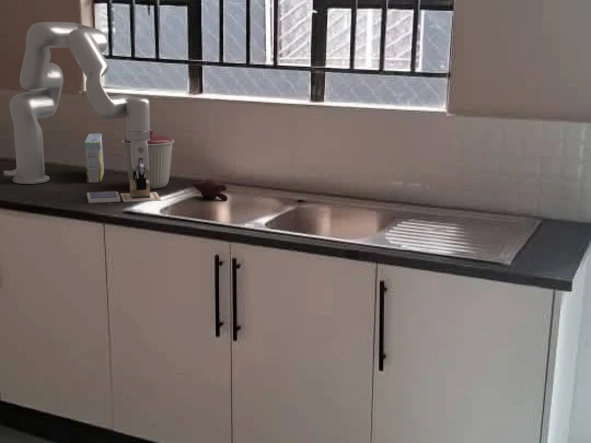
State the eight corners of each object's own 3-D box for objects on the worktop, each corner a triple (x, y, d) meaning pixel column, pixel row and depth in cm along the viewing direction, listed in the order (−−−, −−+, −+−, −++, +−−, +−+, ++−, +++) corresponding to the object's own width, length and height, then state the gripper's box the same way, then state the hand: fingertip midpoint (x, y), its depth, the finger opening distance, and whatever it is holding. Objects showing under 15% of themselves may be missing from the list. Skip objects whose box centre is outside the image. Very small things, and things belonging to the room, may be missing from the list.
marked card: (123, 202, 268) (123, 200, 268) (120, 194, 279) (120, 193, 279) (160, 200, 271) (160, 199, 271) (156, 192, 282) (156, 191, 282)
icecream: (183, 178, 274) (218, 188, 267) (197, 170, 280) (232, 179, 272) (186, 197, 278) (220, 207, 270) (200, 188, 283) (234, 198, 275)
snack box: (89, 172, 316) (87, 133, 313) (104, 172, 317) (103, 133, 314) (85, 183, 296) (83, 141, 292) (101, 183, 297) (100, 141, 293)
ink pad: (88, 202, 266) (88, 198, 265) (87, 196, 275) (86, 192, 275) (120, 201, 269) (120, 197, 268) (117, 195, 278) (117, 190, 277)
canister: (121, 182, 298) (119, 124, 293) (171, 180, 303) (170, 123, 298) (125, 192, 282) (123, 131, 276) (178, 190, 286) (177, 130, 281)
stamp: (131, 198, 271) (131, 177, 270) (130, 194, 277) (129, 174, 275) (150, 197, 273) (149, 177, 271) (148, 194, 279) (147, 173, 277)
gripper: (153, 139, 263) (154, 191, 267) (146, 131, 279) (148, 181, 283) (129, 139, 261) (130, 192, 265) (124, 132, 277) (125, 182, 281)
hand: (139, 186), depth 274 cm, fingers open, 9 cm apart
